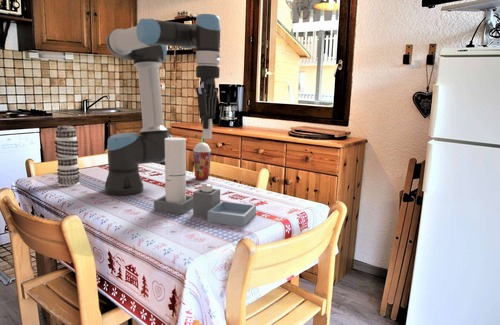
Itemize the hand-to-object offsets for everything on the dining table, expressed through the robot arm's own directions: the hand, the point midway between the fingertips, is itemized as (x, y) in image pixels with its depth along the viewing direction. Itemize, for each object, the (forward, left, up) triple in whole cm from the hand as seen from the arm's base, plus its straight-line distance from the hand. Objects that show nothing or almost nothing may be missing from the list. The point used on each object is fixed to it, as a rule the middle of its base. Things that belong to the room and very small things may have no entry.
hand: (207, 138), depth 129 cm
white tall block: (-12, +1, -26) cm, 29 cm away
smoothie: (-22, +45, -26) cm, 57 cm away
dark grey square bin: (-12, +1, -26) cm, 29 cm away
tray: (+10, -2, -26) cm, 28 cm away
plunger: (0, 0, -20) cm, 20 cm away
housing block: (0, 0, -26) cm, 26 cm away
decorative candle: (-69, +12, -26) cm, 75 cm away
